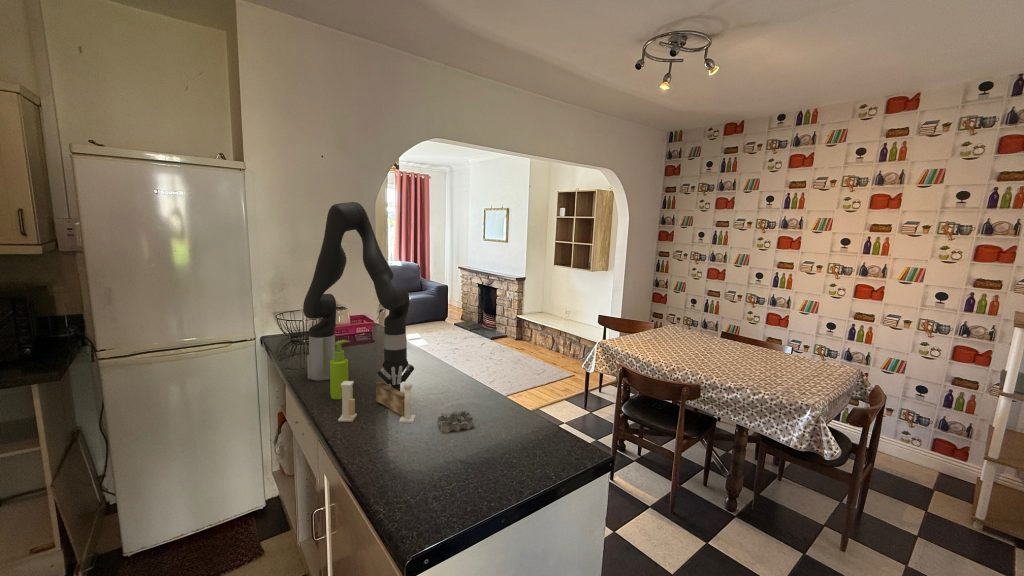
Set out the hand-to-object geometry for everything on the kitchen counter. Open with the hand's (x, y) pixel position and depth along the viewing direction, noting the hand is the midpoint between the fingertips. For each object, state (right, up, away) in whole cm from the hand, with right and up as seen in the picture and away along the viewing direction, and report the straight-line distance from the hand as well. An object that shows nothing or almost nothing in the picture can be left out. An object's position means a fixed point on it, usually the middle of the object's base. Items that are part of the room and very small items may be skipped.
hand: (395, 393), depth 139 cm
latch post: (-12, -5, -11) cm, 17 cm away
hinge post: (+7, -6, -10) cm, 13 cm away
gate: (0, -3, -4) cm, 6 cm away
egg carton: (+22, -7, -12) cm, 27 cm away
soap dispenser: (-21, -2, +5) cm, 22 cm away
